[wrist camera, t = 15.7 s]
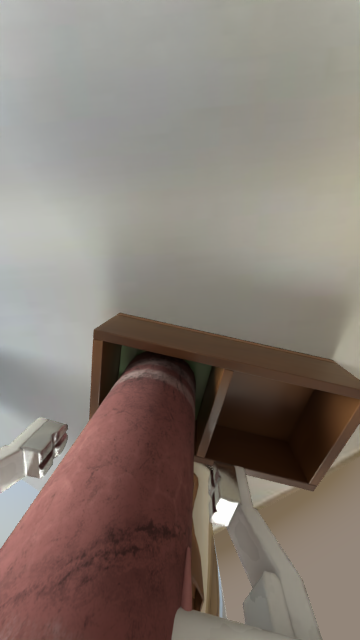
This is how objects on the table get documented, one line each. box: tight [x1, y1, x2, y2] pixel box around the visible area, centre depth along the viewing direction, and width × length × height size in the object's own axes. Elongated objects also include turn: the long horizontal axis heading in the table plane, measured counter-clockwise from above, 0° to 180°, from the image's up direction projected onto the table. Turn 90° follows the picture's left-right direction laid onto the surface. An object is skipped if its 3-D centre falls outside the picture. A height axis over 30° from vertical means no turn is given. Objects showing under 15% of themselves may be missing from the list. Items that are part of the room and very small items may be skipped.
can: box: [0, 351, 196, 640], centre depth 9 cm, size 6×6×14 cm
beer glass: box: [191, 462, 227, 619], centre depth 14 cm, size 7×7×15 cm
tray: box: [89, 313, 360, 491], centre depth 15 cm, size 9×18×4 cm, turn 79°
